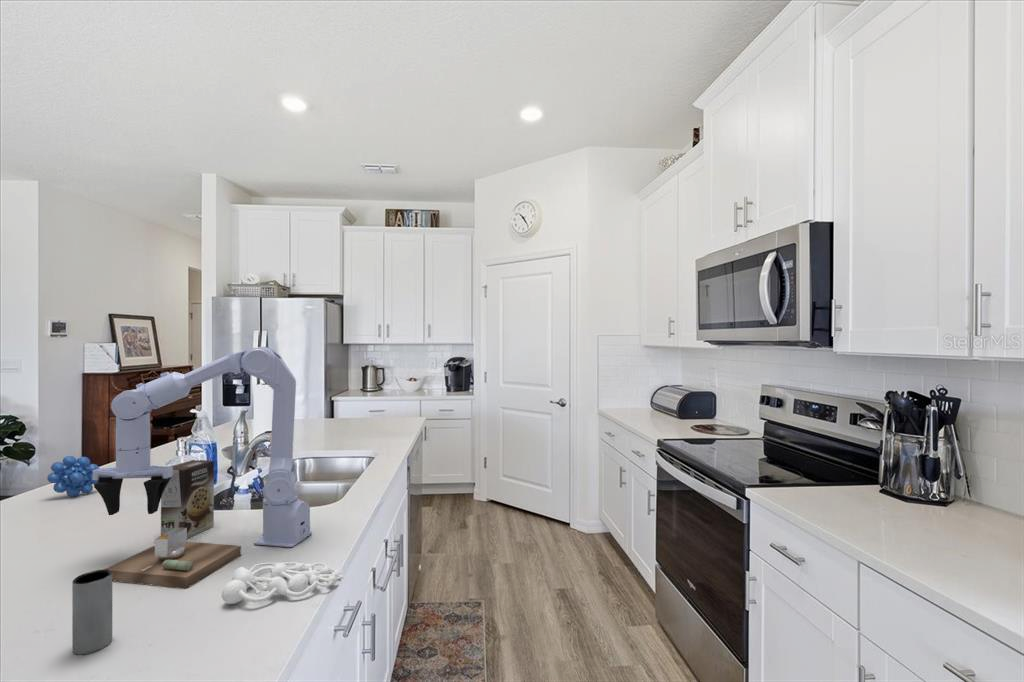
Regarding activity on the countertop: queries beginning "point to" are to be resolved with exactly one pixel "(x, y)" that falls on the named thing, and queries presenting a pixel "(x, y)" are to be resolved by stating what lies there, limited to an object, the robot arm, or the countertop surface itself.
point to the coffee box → (189, 498)
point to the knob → (171, 544)
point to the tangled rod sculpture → (278, 581)
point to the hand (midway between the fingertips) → (133, 513)
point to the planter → (91, 611)
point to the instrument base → (171, 577)
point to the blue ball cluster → (73, 476)
